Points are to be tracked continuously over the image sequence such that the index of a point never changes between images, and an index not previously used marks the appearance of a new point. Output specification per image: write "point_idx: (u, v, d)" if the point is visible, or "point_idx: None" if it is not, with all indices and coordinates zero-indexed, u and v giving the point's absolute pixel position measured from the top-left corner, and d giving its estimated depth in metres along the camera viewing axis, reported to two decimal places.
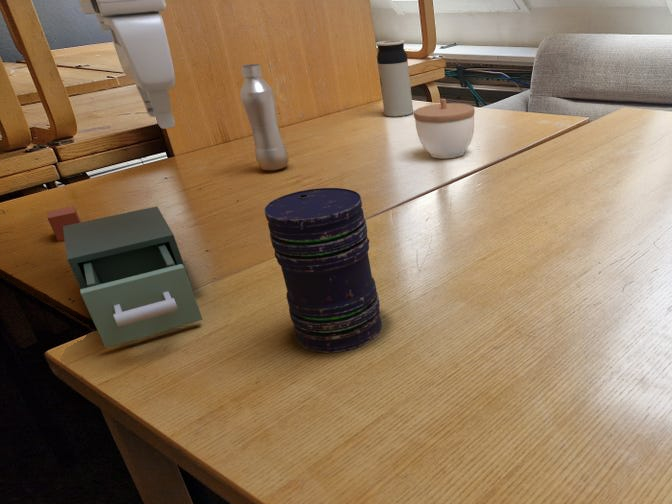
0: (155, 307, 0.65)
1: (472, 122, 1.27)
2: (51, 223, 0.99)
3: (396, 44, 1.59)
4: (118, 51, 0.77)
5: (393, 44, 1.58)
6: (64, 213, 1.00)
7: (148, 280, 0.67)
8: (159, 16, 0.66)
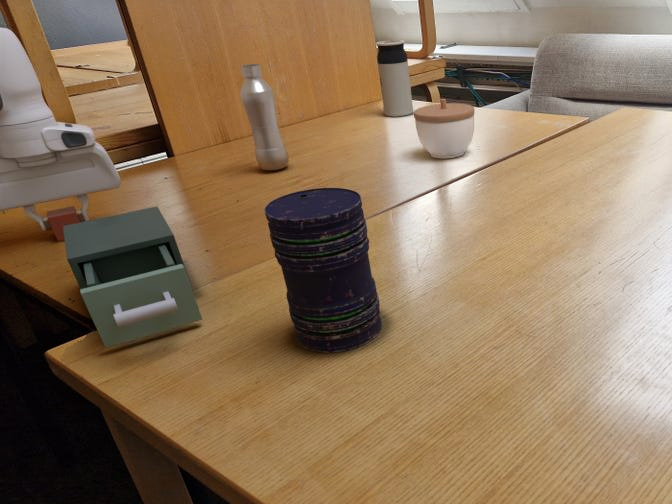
0: (155, 307, 0.65)
1: (472, 122, 1.27)
2: (51, 223, 0.99)
3: (396, 44, 1.59)
4: (2, 190, 0.94)
5: (393, 44, 1.58)
6: (64, 213, 1.00)
7: (148, 280, 0.67)
8: None
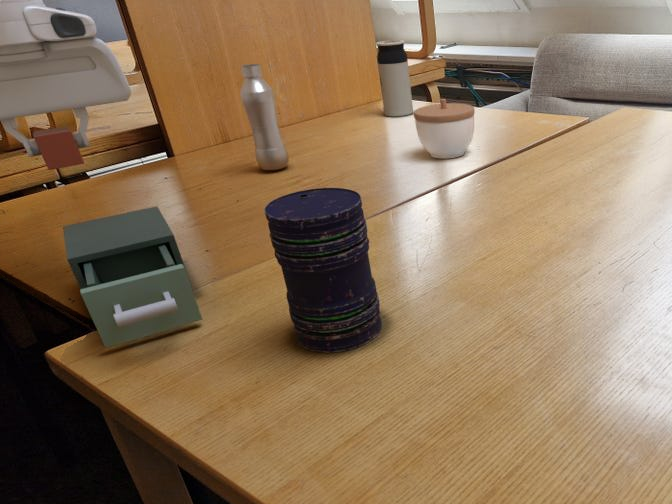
0: (155, 307, 0.65)
1: (472, 122, 1.27)
2: (39, 144, 0.74)
3: (396, 44, 1.59)
4: None
5: (393, 44, 1.58)
6: (56, 132, 0.75)
7: (148, 280, 0.67)
8: None
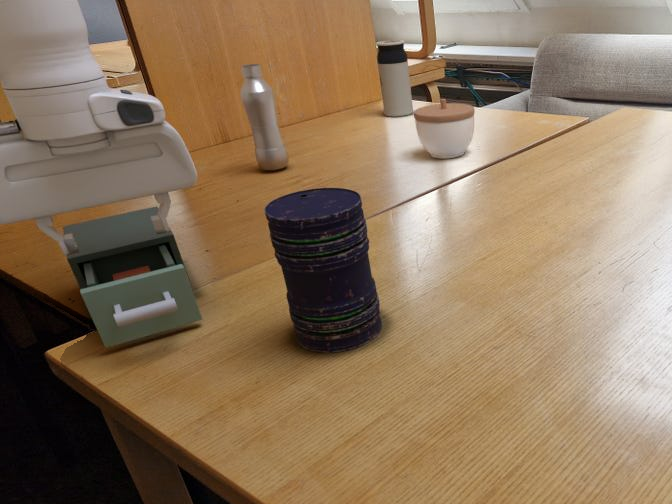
0: (155, 307, 0.65)
1: (472, 122, 1.27)
2: None
3: (396, 44, 1.59)
4: (27, 189, 0.62)
5: (393, 44, 1.58)
6: None
7: (148, 280, 0.67)
8: None
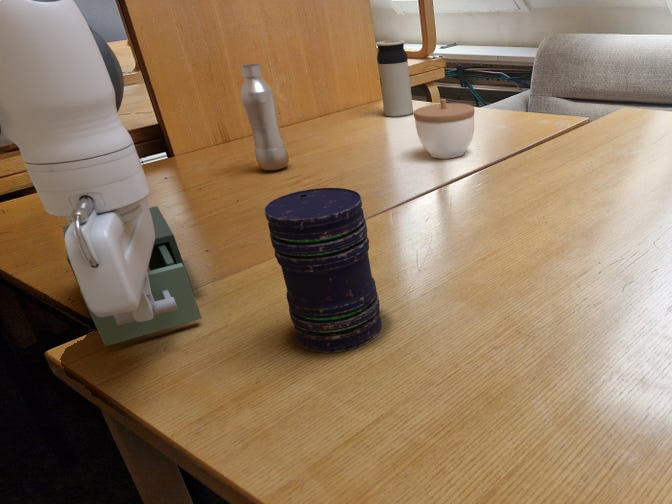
0: None
1: (472, 122, 1.27)
2: None
3: (396, 44, 1.59)
4: (131, 264, 0.55)
5: (393, 44, 1.58)
6: None
7: None
8: None
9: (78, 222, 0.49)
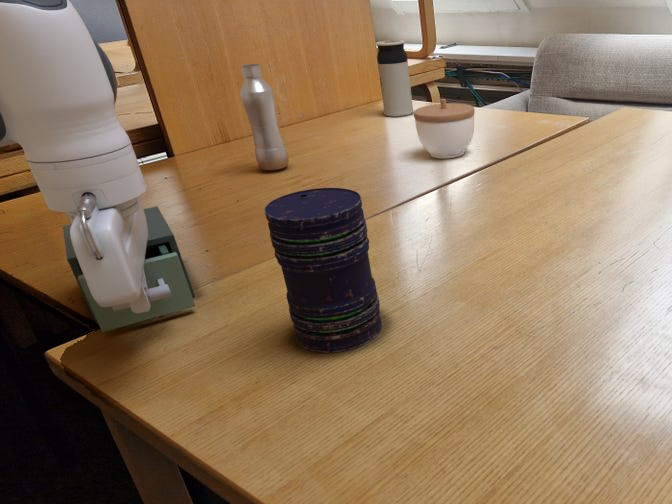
0: None
1: (472, 122, 1.27)
2: None
3: (396, 44, 1.59)
4: (131, 257, 0.59)
5: (393, 44, 1.58)
6: None
7: None
8: None
9: (84, 217, 0.52)
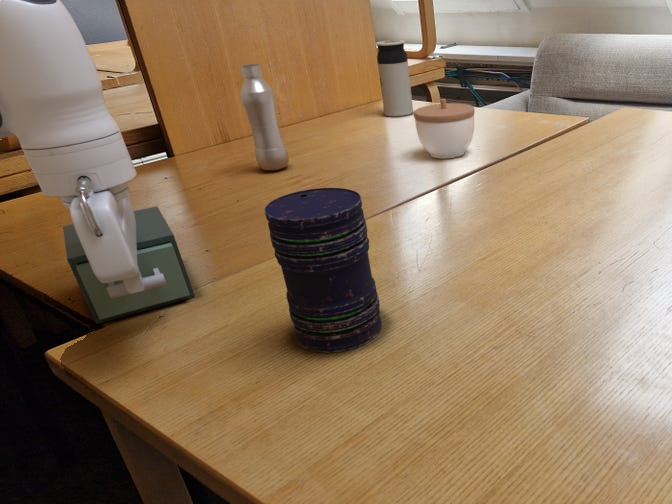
0: (145, 281, 0.71)
1: (472, 122, 1.27)
2: None
3: (396, 44, 1.59)
4: (127, 236, 0.62)
5: (393, 44, 1.58)
6: None
7: (139, 257, 0.73)
8: None
9: (84, 195, 0.56)
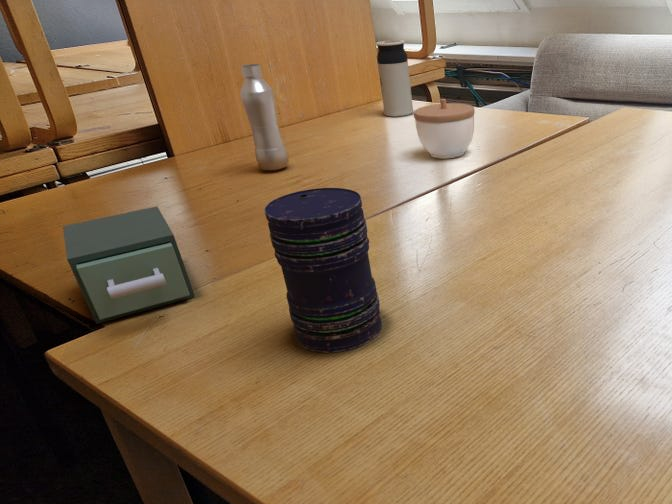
0: (145, 281, 0.71)
1: (472, 122, 1.27)
2: None
3: (396, 44, 1.59)
4: None
5: (393, 44, 1.58)
6: None
7: (139, 257, 0.73)
8: None
9: None
